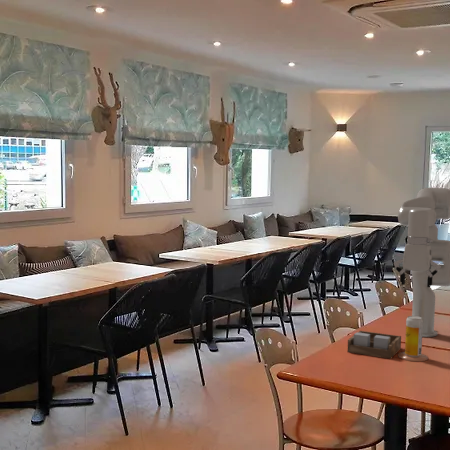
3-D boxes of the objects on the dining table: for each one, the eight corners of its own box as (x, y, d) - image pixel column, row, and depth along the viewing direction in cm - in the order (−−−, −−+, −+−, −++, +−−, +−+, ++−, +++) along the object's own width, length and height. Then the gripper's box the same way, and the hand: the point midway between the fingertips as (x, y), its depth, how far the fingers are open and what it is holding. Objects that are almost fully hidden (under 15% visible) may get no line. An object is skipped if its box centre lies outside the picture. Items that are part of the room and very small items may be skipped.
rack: (359, 342, 261) (360, 330, 261) (400, 348, 253) (401, 336, 253) (347, 352, 247) (347, 339, 246) (390, 358, 239) (391, 345, 238)
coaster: (401, 351, 248) (401, 350, 248) (430, 355, 243) (430, 354, 243) (395, 358, 239) (395, 357, 239) (424, 363, 234) (424, 361, 233)
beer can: (408, 352, 245) (410, 314, 244) (423, 355, 242) (425, 317, 240) (402, 355, 241) (403, 317, 240) (417, 358, 237) (419, 320, 236)
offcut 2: (375, 352, 247) (376, 334, 247) (389, 354, 245) (390, 336, 244) (373, 354, 244) (373, 337, 243) (387, 356, 241) (388, 339, 241)
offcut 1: (356, 349, 251) (356, 332, 250) (369, 351, 248) (370, 334, 248) (353, 351, 248) (353, 334, 247) (366, 353, 245) (367, 336, 244)
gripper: (443, 241, 237) (441, 286, 238) (397, 239, 245) (395, 282, 246) (439, 243, 230) (437, 289, 231) (392, 240, 238) (390, 284, 240)
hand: (415, 285), depth 239 cm, fingers open, 9 cm apart
